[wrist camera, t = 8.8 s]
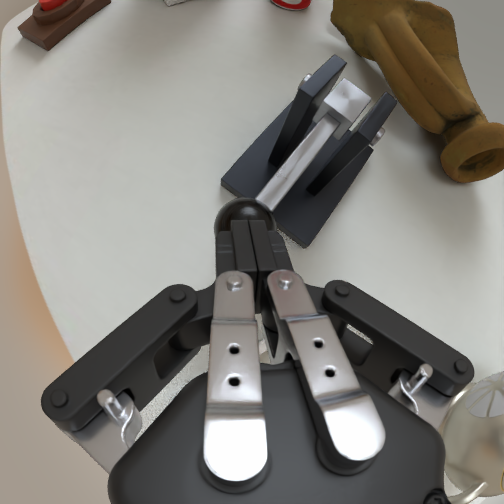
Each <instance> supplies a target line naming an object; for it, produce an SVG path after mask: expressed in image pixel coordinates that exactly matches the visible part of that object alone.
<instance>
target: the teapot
mask: <svg viewBox="0 0 504 504" xmlns="http://www.w3.org/2000/svg"><path fill="white" fill-rule="evenodd" d="M438 432H439V433H440V435H441V437H442V439H443V441H444V444H445V450H446V458H445V465H444V470H445V472H446V475H447V476H448V478H449V480H450V481H451V482H452V483H453V484H454V485H455V486H456V487H457V488H458V489H459V490H461V491H463V493H460V494H458V495H455V496H450V497H447V498H448V500H449V501H450V502H451V504H468V503H470V502H471V501H473V500H474V499H476V498H477V497H492V496H497V495H501V494H504V371H503V372H499V373H496V374H493V375H491V376H489V377H487V378H485V379H483V380H481V381H480V382H478V383H477V384H476V383H469V384H468V385H467V386H466V387H465V388H464V389H463V390H462V391H461V392H460V393H459V394H458V395H457V396H456V397H455V398H454V399H453V400H452V403H451V405H450V407H449V409H448V411H447V413H446V416H445V418H444V420H443V422H442V424H441V426H440V428H439V430H438Z"/></svg>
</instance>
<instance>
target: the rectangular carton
mask: <svg viewBox="0 0 504 504" xmlns="http://www.w3.org/2000/svg"><path fill="white" fill-rule="evenodd" d="M164 1H165V3H166V4H167V5H168V6H170V5H174V4H177V3H180V2H184V1H187V0H164Z"/></svg>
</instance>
